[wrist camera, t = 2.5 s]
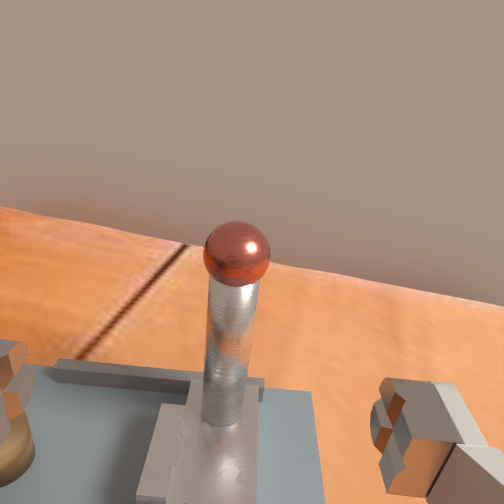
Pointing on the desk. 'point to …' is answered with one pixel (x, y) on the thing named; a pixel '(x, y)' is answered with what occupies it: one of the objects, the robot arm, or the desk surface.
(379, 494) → the desk surface
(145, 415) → the press bed
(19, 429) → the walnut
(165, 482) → the lever
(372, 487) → the desk surface
